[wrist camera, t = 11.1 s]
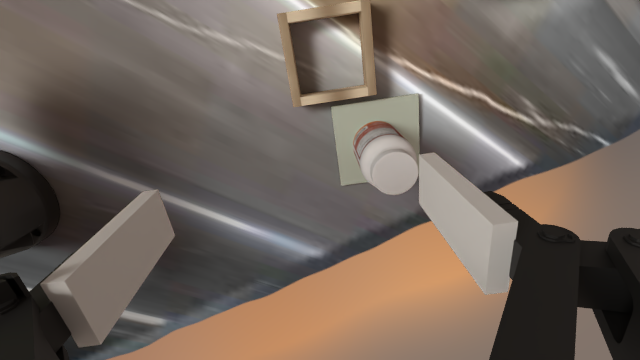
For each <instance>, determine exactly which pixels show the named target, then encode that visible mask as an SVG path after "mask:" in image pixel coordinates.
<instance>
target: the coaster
mask: <svg viewBox="0 0 640 360" xmlns="http://www.w3.org/2000/svg"><path fill="white" fill-rule="evenodd" d="M331 112H332V120H333V127H334V135H335V143H336V150H337V158H338V166H339V174H340V181H341V186H343V185H350V184H357V183H365V182H368V181H367V180H366V179H365V177H364V176H363V174H362V172H361V169H360V167H359V164H358V161H357V159H356V156H355V154H354V150H353V140H354V136H355V134H356V133H357V131H358V130H359V129H360V128H361V127H362V126H363V125H365V124H367V123H369V122H372V121H384V122H387V123H389V124H390V125H392V126H393V127H394V128H395V129H396V130H397V131H398V132H399V133H400V134H401V135H402V136H403V137H404V138H405V139H406V140H407V141H408V142H409V143H410V144H411V145H412V147H413V148H414V150H415V153H416V157H417V165H418V175H419V154H420V146H419V95H418V94H417V93H416V94H409V95H403V96H396V97H389V98H382V99H376V100H369V101H362V102H356V103H349V104H342V105H336V106H331Z"/></svg>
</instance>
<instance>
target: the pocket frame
mask: <svg viewBox="0 0 640 360" xmlns="http://www.w3.org/2000/svg"><path fill="white" fill-rule="evenodd" d="M356 13H358V15H359V27H360V39H361V50H362V62H363V74H364V85H360V86H353V87H347V88H340V89H334V90H327V91H321V92H314V93H307V94H301V91H300V85H299V79H298V73H297V66H296V60H295V54H294V48H293V42H292V36H291V30H290V24H294V23H300V22H306V21H313V20H319V19H325V18H331V17H337V16H344V15H350V14H356ZM277 17H278V22H279V28H280V34H281V39H282V45H283V51H284V56H285V62H286V68H287V73H288V79H289V85H290V90H291V96H292V102H293V107H298V106H305V105H311V104H318V103H325V102H331V101H338V100H345V99H351V98H358V97H364V96H371V95H377V92H376V78H375V64H374V50H373V36H372V22H371V8H370V0H360V1H353V2H347V3H341V4H335V5H329V6H323V7H317V8H310V9H304V10H298V11H292V12H286V13H280V14H277Z"/></svg>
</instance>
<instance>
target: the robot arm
mask: <svg viewBox="0 0 640 360" xmlns="http://www.w3.org/2000/svg"><path fill="white" fill-rule="evenodd" d="M419 204H420V205H421V207H422V208H423V209H424V211H425V212H426V214H427V215H428V216H429V218H430V219H431V221H432V222H433V223H434V225H435V226H436V227H437V229H438V230H439V232H440V233H441V234H442V236H443V237H444V238H445V240H446V241H447V243H448V244H449V245H450V247H451V248H452V250H453V251H454V252H455V254H456V255H457V256H458V258H459V259H460V260H461V262H462V263H463V265H464V266H465V268H466V269H467V270H468V272H469V273H470V274H471V276H472V277H473V279H474V280H475V281H476V283H477V284H478V285H479V287H480V288H481V290H482V291H483V292H484V294H485V295H487V294H495V293H502V292H508V287H509V281H510V278H511V279H512V280H513V281H512V284H511V287H510V291H509V294H508V298H507V301H506V304H505V308H504V311H503V315H502V318H501V321H500V325H499V328H498V331H497V335H496V338H495V342H494V345H493V348H492V352H491V355H490V359H489V360H574V356H575V338H576V318H577V307H583V308H592V309H593V312H594V314H595V317H596V319H597V322H598V324H599V326H600V328H601V331H602V334H603V336H604V339H605V341H606V343H607V346H608V348H609V351H610V353H611V356H612V358H613V360H640V229H634V228H618V229H614V230H612V231H611V232H610V234H609V237H608V241H607V242H599V241H583V240H580V239H579V237H578V236H577V235H576V234H574V233H573V232H572V231H569V230H567V229H565V228H562V227H558V226H555V225H547V224H543V225H541V224H539V223H538V222H537V221H535V220H534V219H533V218H531V217H530V216H529V215H527V214H526V213H525V212H524V211H522V210H521V209H519V208H518V207H517V206H516V205H514V204H512V203H511V202H510V201H509V200H508V199H506V198H505V197H504V196H501V195H499V194H497V193H494V192H492V191H488V192H482V191H481V190H479V189H478V188H477V187H476V186H475V185H473V184H472V183H471V182H470V181H468V180H467V179H466V178H465V177H464V176H462V175H461V174H460V173H459V172H458V171H456V170H455V169H454V168H453V167H452V166H450V165H449V164H448V163H447V162H445V161H444V160H443V159H442V158H441V157H439V156H438V155H437V154H436V153H435V152H434V153H427V154H419ZM58 220H59V205H58V201H57V198H56V196H55V194H54V192H53V190H52V188H51V187H50V185H49V184H48V183H47V181H46V180H45V179H44V178H43V177H42V176H41V175H40V174H39V173H38V172H37V171H36V170H35V169H34V168H33V167H31V166H30V165H29V164H27V163H26V162H24V161H22V160H21V159H19V158H17V157H15V156H13V155H11V154H8V153H6V152H3V151H0V258H3V257H6V256H9V255H12V254H15V253H18V252H21V251H24V250H27V249H29V248H31V247H33V246H35V245H37V244H38V243H39V242H41V241H42V240H44V239H45V238H46V237H48V236H49V235H50V234H51V233H52V232H53V231H54V230H55V228H56V226H57V224H58ZM174 237H175V234H174V231H173V229H172V226H171V223H170V220H169V218H168V215H167V212H166V209H165V207H164V204H163V201H162V199H161V196H160V193H159V190H158V189H157V190H150V191H143V192H142V193H141V194H140V195H138V196H137V197H136V198H135V199H134V200H133V201H132V202H131V203H130V204H128V205H127V206H126V207H125V208H124V209H123V210H122V211H121V212H120V213H118V214H117V215H116V216H115V217H114V218H113V219H112V220H111V221H110V222H109V223H107V224H106V225H105V226H104V227H103V228H102V229H101V230H100V231H99V232H97V233H96V234H95V235H94V236H93V237H92V238H91V239H90V240H89V241H87V242H86V243H85V244H84V245H83V246H82V247H81V248H80V249H79V250H77V251H76V252H74V253H72V254H71V255H70V256H69V257H68V258H67V259H66V260H64V261H63V262H62V264H60V265H59V266H58V267H57V268H55V269H54V272H51V273H50V274H49V275H48V276H47V277H45V278H44V279H43V280H42V281H41V282H40V283H39V284H38V285H36V286H35V287H34V288H33V289H32V290H31V291H30V292H29V291H28V290H27V288H26V286H25V285H24V283H23V282H22V280H21V279H20V277H19V276H18V274H17V273H5V274H1V275H0V360H69V356H68V352H67V350H66V349H65V347H64V346H63V344H64V343H65V341H66V340H67V339H68V338H69V336H70V335H71V336H72V337H73V339H74V340H75V342H76V344H77V345H78V347H85V346H93V345H101V344H102V342H103V341H104V339H105V338H106V336H107V335H108V333H109V332H110V330H111V329H112V327H113V326H114V325H115V323H116V322H117V320H118V319H119V317H120V316H121V314H122V313H123V311H124V310H125V308H126V307H127V305H128V304H129V303H130V301H131V300H132V298H133V297H134V295H135V294H136V292H137V291H138V289H139V288H140V286H141V285H142V283H143V282H144V281H145V279H146V278H147V276H148V275H149V273H150V272H151V270H152V269H153V267H154V266H155V264H156V263H157V261H158V260H159V259H160V257H161V256H162V254H163V253H164V251H165V250H166V248H167V247H168V245H169V244H170V242H171V241H172V239H173V238H174Z"/></svg>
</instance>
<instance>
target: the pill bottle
mask: <svg viewBox="0 0 640 360" xmlns="http://www.w3.org/2000/svg"><path fill="white" fill-rule="evenodd" d="M353 150H354V154H355V156H356V159H357V161H358V164H359V167H360V169H361V172H362V174H363V176H364V177H365V179H366V180H367V181H368V182H369V183H370V184H371V185H373V186H375V187H376V188H377V189H378V190H380V191H381V192H383V193H385V194H389V195H398V194H401V193H404V192H406V191H407V190H409V189H410V188H411V187H412V186H413V185H414V184H415V182H416V180H417V177H418V165H417V157H416V153H415V150H414V148H413V147H412V145H411V144H410V143H409V142H408V141H407V140H406V139H405V138H404V137H403V136H402V135H401V134H400V133H399V132H398V131H397V130H396V129H395V128H394V127H393V126H392V125H390V124H389V123H387V122H384V121H372V122H369V123H367V124H365V125H363V126H362V127H361V128H360V129H359V130H358V131H357V133H356V134H355V136H354V140H353Z"/></svg>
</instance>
